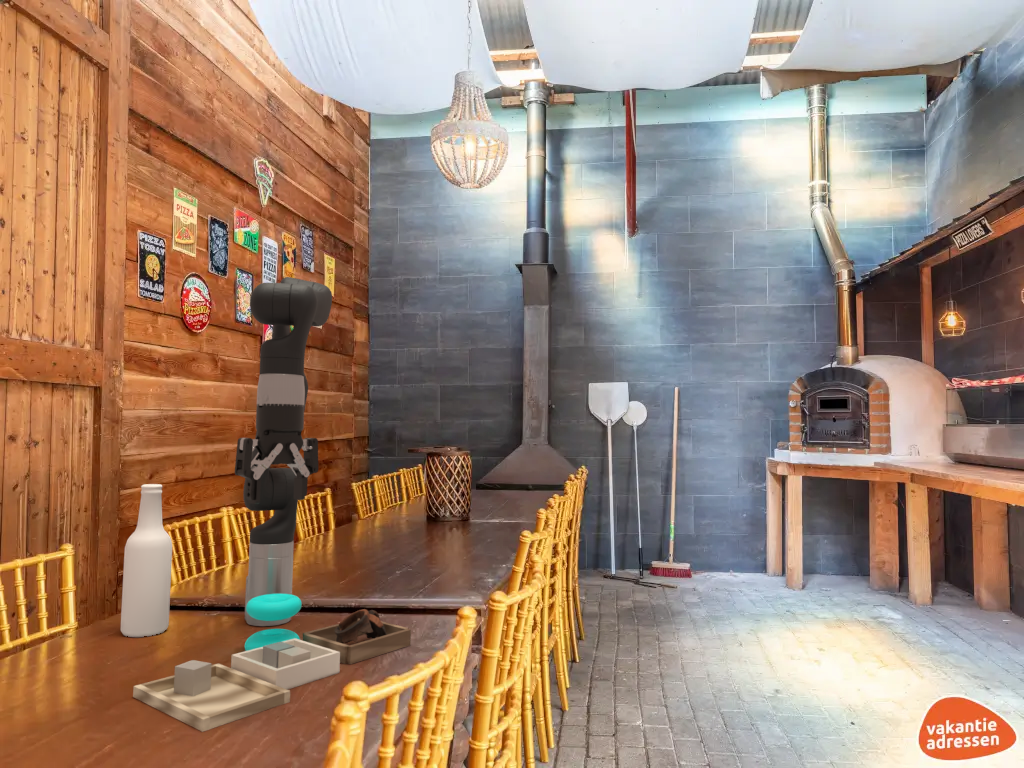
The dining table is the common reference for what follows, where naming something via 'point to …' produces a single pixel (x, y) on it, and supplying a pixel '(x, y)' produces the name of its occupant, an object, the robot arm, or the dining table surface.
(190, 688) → the grey stone cube
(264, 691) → the tray
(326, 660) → the dish
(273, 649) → the grey cube
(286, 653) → the grey cube near
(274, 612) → the donuts
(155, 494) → the alcohol
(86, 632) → the dining table surface
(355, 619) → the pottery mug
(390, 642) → the frame
